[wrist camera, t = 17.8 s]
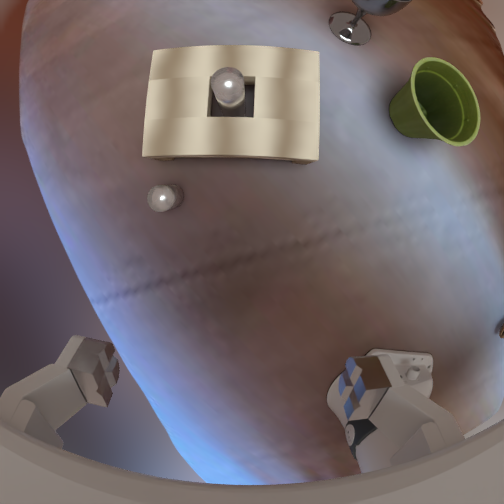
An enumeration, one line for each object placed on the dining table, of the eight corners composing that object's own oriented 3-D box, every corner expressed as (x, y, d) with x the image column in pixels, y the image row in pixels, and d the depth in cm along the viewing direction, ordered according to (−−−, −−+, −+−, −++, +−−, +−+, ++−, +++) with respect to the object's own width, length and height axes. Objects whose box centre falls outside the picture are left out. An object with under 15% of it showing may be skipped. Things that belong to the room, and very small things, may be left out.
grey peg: (249, 106, 35) (250, 74, 23) (238, 125, 36) (233, 100, 24) (229, 96, 35) (220, 62, 23) (217, 115, 35) (204, 87, 24)
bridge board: (308, 71, 34) (319, 51, 27) (306, 164, 37) (318, 160, 30) (168, 69, 33) (153, 50, 26) (160, 160, 37) (142, 156, 30)
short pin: (184, 184, 37) (172, 184, 32) (183, 207, 38) (172, 212, 32) (162, 184, 37) (147, 185, 32) (162, 207, 38) (147, 212, 32)
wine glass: (341, 51, 33) (379, 1, 18) (317, 13, 31) (342, -43, 16) (381, 44, 32) (427, 2, 17) (358, 7, 30) (392, -41, 16)
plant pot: (429, 85, 33) (469, 67, 22) (440, 153, 36) (485, 150, 25) (368, 76, 34) (402, 48, 23) (379, 150, 36) (421, 142, 25)
